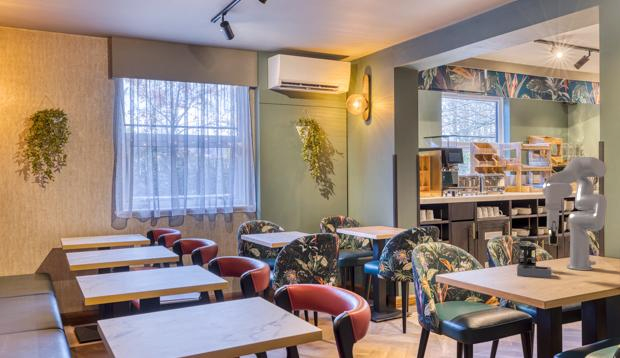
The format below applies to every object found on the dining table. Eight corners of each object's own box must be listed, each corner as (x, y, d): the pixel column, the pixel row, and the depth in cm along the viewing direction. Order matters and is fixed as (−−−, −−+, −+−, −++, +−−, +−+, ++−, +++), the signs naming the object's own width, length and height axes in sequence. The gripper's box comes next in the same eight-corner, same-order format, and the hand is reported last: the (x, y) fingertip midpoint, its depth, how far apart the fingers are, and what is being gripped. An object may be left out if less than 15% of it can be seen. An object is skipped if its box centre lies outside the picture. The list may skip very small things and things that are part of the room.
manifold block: (550, 274, 270) (550, 267, 270) (551, 278, 261) (551, 270, 261) (517, 272, 276) (517, 264, 276) (517, 275, 267) (517, 267, 267)
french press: (533, 271, 280) (534, 228, 280) (515, 269, 286) (516, 227, 285) (539, 267, 289) (539, 226, 289) (521, 266, 295) (521, 225, 295)
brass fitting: (553, 244, 267) (553, 228, 267) (559, 245, 263) (560, 229, 263) (546, 244, 266) (546, 228, 266) (552, 245, 261) (553, 229, 261)
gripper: (544, 206, 273) (544, 240, 273) (546, 208, 258) (545, 244, 258) (560, 206, 271) (559, 241, 271) (563, 208, 255) (562, 245, 255)
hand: (553, 242), depth 264 cm, fingers closed on brass fitting, 4 cm apart
